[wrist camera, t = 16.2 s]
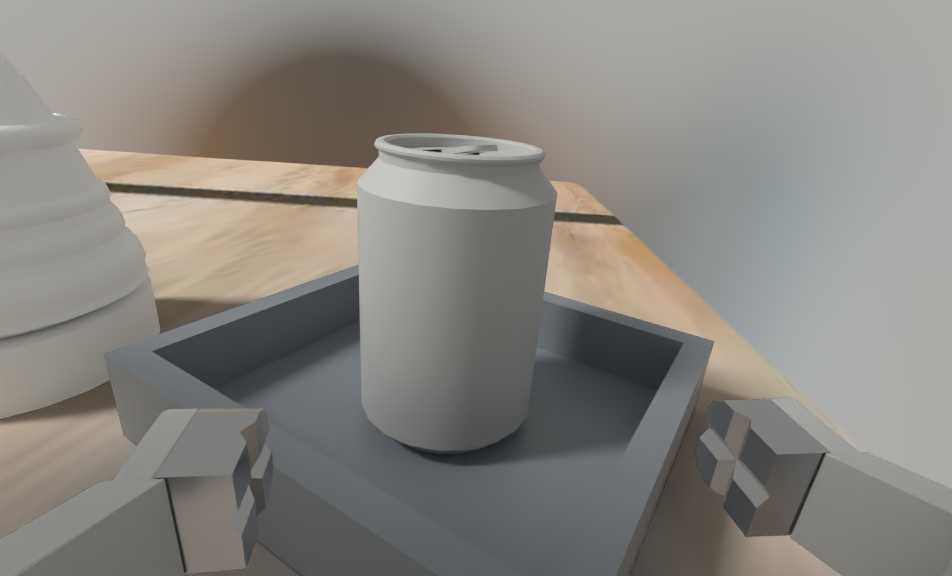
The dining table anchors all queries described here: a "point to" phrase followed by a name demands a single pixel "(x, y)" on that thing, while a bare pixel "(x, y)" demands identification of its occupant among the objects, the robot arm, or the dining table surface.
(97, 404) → the dining table surface
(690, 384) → the tray
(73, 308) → the honey pot
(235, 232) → the dining table surface
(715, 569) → the dining table surface
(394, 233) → the can
